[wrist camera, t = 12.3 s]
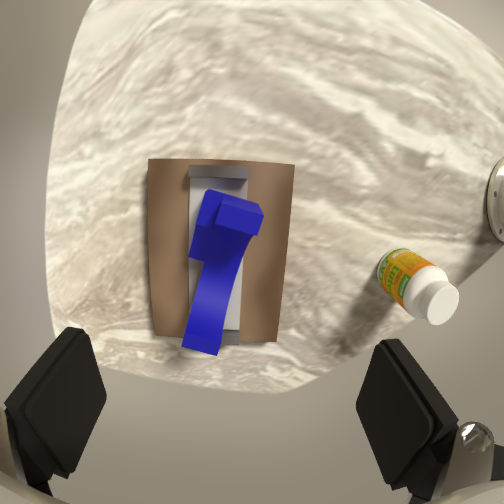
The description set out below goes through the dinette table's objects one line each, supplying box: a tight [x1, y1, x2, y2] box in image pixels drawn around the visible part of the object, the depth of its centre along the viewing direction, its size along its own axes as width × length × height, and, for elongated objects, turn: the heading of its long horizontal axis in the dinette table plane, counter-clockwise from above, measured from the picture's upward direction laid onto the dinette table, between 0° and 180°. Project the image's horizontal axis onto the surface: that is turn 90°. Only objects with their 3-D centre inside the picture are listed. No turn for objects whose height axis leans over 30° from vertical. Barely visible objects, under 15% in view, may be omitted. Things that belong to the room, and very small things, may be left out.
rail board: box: [147, 159, 295, 345], centre depth 27 cm, size 13×18×4 cm
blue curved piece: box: [182, 189, 264, 356], centre depth 24 cm, size 12×4×6 cm, turn 162°
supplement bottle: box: [377, 247, 459, 325], centre depth 26 cm, size 5×5×10 cm
